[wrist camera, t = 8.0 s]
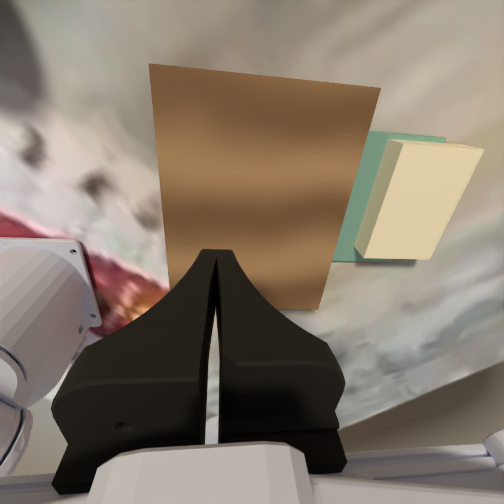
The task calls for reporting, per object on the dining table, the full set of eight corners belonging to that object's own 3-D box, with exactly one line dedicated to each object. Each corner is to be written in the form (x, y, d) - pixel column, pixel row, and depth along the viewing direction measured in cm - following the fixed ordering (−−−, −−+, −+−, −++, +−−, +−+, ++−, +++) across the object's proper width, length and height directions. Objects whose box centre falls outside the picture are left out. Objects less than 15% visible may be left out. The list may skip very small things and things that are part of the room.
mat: (391, 260, 26) (392, 262, 25) (310, 258, 25) (311, 260, 25) (443, 137, 20) (445, 138, 20) (341, 128, 19) (342, 129, 19)
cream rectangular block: (363, 258, 22) (353, 246, 24) (429, 259, 23) (415, 247, 25) (403, 143, 18) (387, 138, 19) (484, 149, 18) (462, 144, 20)
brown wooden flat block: (305, 280, 26) (318, 309, 23) (178, 278, 25) (171, 309, 21) (351, 87, 18) (381, 88, 14) (164, 68, 16) (148, 63, 13)
